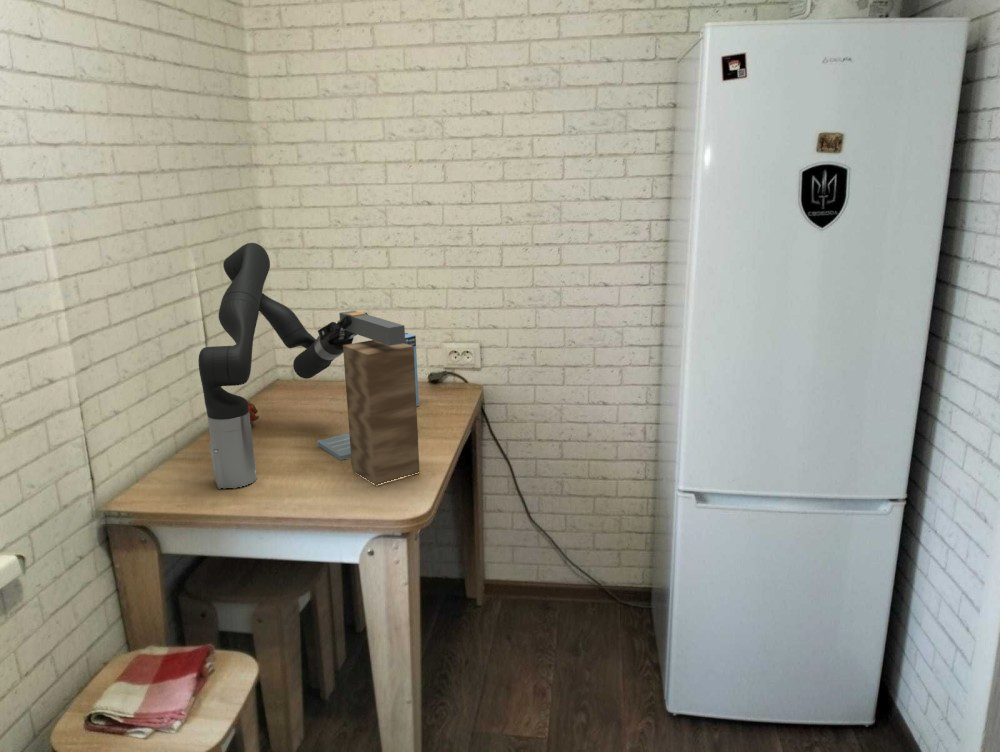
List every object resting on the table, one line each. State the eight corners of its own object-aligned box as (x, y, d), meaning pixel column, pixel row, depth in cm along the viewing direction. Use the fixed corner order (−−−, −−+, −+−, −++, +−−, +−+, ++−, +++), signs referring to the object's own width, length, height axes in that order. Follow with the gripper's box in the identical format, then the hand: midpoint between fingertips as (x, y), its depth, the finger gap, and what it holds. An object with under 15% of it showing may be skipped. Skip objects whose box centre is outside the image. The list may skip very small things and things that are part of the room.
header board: (317, 445, 199) (316, 440, 198) (350, 436, 205) (350, 432, 204) (341, 460, 188) (340, 455, 188) (375, 451, 194) (375, 446, 194)
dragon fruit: (256, 425, 219) (237, 445, 208) (231, 409, 218) (211, 429, 207) (268, 405, 216) (250, 424, 205) (243, 389, 214) (223, 408, 204)
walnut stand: (352, 471, 181) (342, 345, 173) (394, 459, 189) (387, 337, 180) (376, 486, 172) (367, 354, 163) (419, 473, 179) (413, 346, 171)
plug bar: (340, 328, 181) (339, 311, 180) (355, 326, 183) (353, 309, 182) (389, 345, 163) (388, 326, 162) (405, 342, 165) (404, 324, 164)
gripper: (303, 332, 187) (326, 306, 173) (353, 324, 195) (379, 299, 182) (311, 359, 186) (335, 336, 172) (362, 350, 194) (388, 327, 181)
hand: (358, 317), depth 177 cm, fingers closed on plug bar, 4 cm apart
